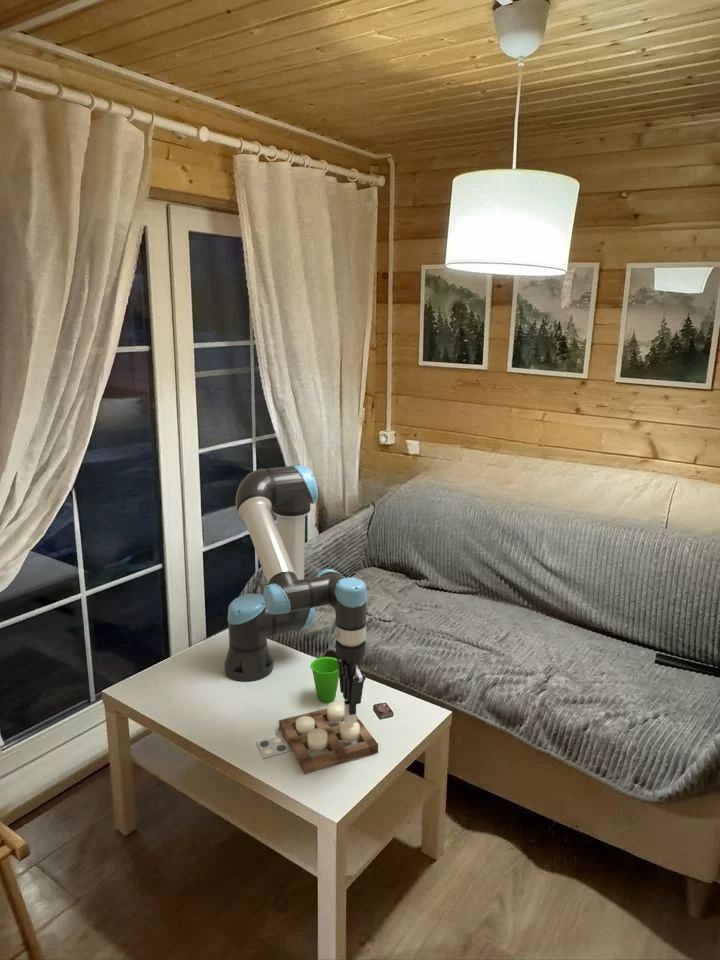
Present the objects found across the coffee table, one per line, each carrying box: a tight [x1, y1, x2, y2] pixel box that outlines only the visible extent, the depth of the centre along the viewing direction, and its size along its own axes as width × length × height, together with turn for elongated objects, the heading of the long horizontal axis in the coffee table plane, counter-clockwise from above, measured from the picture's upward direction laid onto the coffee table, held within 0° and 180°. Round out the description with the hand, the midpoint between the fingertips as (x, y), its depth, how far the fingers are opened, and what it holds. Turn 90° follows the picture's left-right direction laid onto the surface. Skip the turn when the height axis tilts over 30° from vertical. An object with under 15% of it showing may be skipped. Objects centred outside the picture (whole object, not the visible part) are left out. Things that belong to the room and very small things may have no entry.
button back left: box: [326, 701, 344, 723], centre depth 185 cm, size 5×5×3 cm
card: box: [255, 734, 291, 760], centre depth 177 cm, size 7×7×1 cm
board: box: [278, 707, 379, 775], centre depth 180 cm, size 20×20×2 cm
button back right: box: [295, 716, 315, 736], centre depth 181 cm, size 5×5×3 cm
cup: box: [310, 656, 339, 704], centre depth 197 cm, size 9×9×11 cm
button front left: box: [339, 720, 360, 743], centre depth 177 cm, size 5×5×3 cm
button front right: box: [308, 728, 327, 752], centre depth 173 cm, size 5×5×3 cm
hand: (350, 722), depth 176 cm, fingers closed
